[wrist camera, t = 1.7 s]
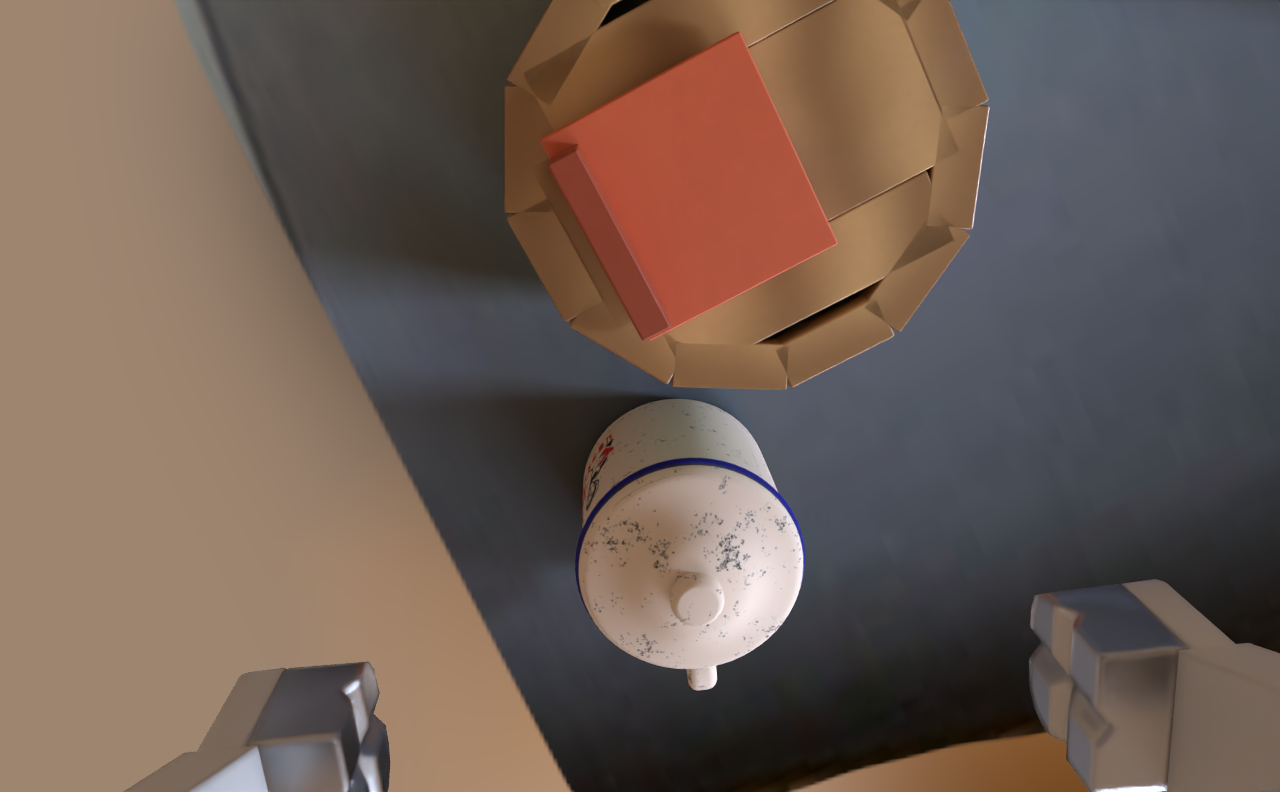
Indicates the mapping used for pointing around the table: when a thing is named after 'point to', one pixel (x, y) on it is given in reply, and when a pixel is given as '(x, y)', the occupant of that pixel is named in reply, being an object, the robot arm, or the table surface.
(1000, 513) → the table surface
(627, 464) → the teacup with lid
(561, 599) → the table surface
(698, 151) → the slider
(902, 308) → the round tan lid
